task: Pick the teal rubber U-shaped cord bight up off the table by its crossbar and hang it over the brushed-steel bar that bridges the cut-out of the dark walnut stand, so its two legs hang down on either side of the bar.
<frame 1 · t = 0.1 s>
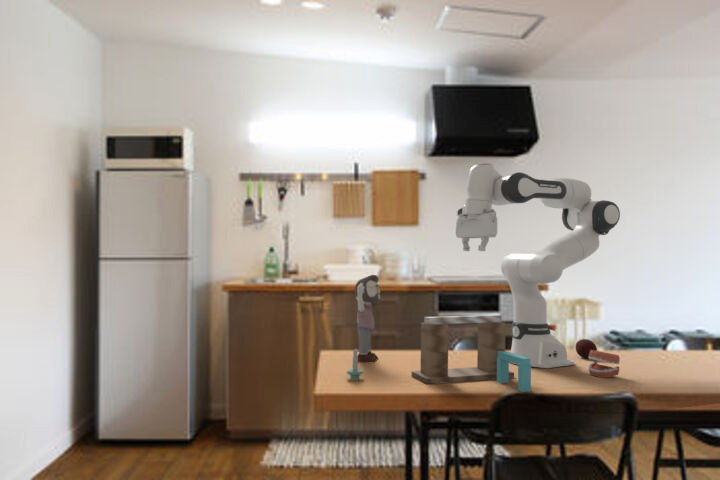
hand: (473, 251, 174), 39 cm above the table, tool pointing down, fingers open, 8 cm apart
bight: (513, 386, 147), on the table
screw: (354, 379, 152), on the table
shelf: (463, 376, 158), on the table
dentures: (600, 376, 163), on the table
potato: (586, 358, 191), on the table
figurine: (364, 361, 179), on the table
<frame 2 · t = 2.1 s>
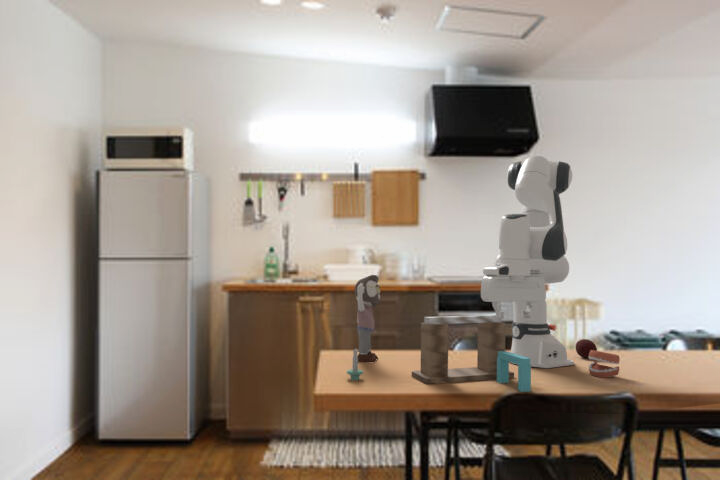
hand: (513, 317, 148), 20 cm above the table, tool pointing down, fingers open, 8 cm apart
nothing on the table moved.
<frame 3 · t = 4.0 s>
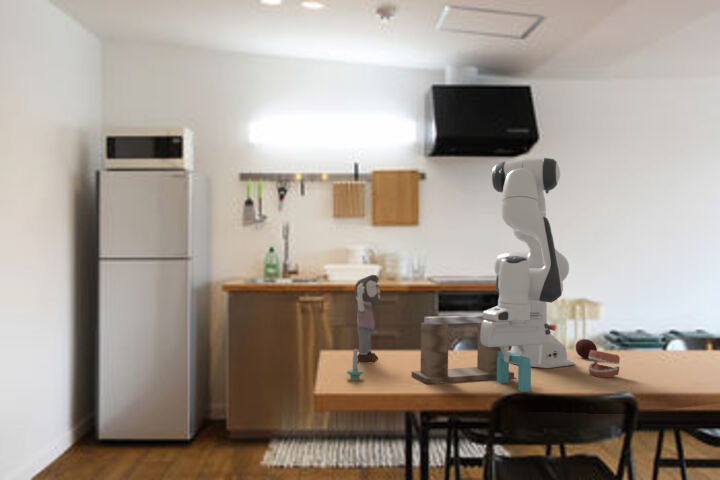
hand: (513, 361, 147), 7 cm above the table, tool pointing down, fingers closed on bight, 2 cm apart
bight: (513, 386, 147), on the table, touching gripper
everything else where it was.
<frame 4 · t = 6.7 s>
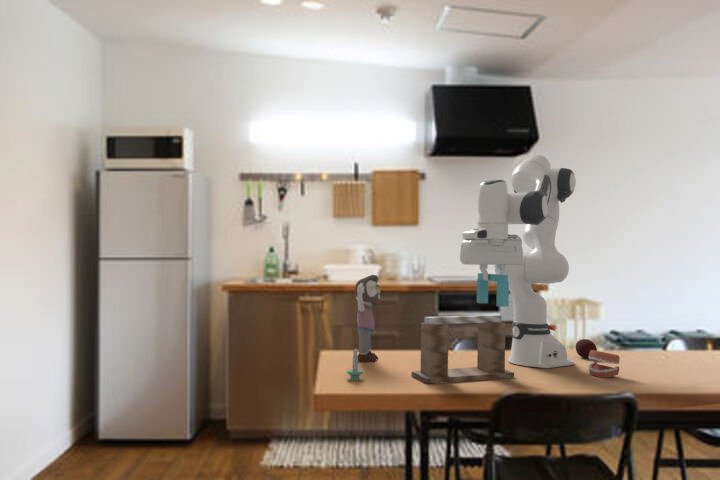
hand: (492, 280, 153), 30 cm above the table, tool pointing down, fingers closed on bight, 2 cm apart
bight: (492, 304, 152), point 23 cm above the table, touching gripper
everything else where it was.
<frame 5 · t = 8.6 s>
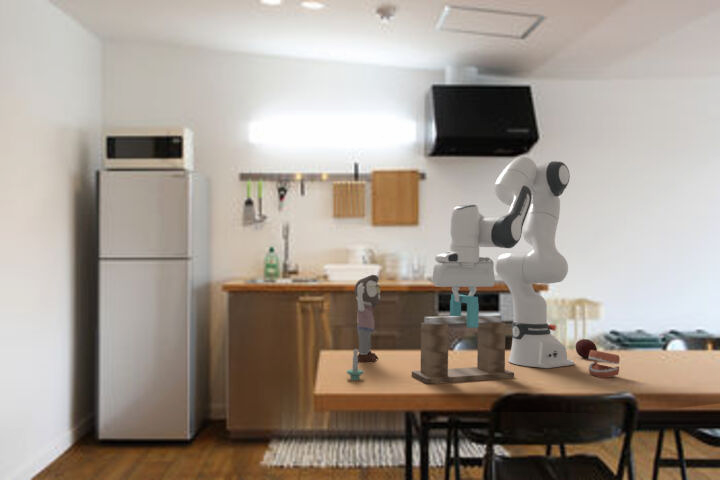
hand: (463, 301, 158), 23 cm above the table, tool pointing down, fingers closed on bight, 2 cm apart
bight: (463, 324, 158), point 16 cm above the table, touching gripper
everything else where it was.
when the fingers open (20 cm above the table, at t = 9.8 s): bight drops 1 cm, resting on shelf.
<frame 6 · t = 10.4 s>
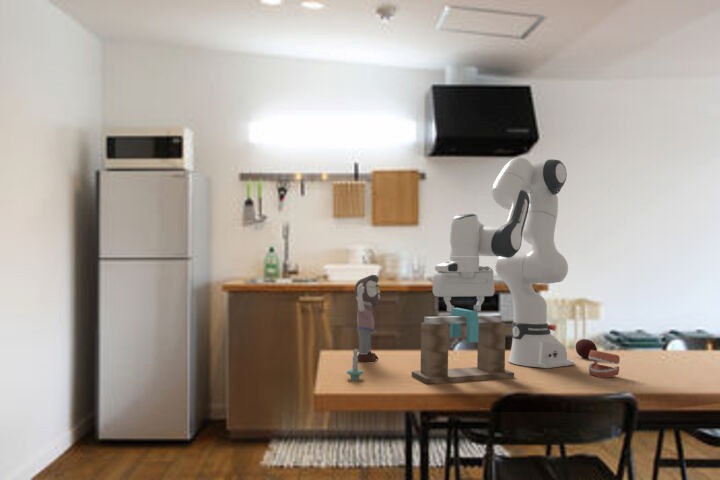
hand: (463, 311, 158), 20 cm above the table, tool pointing down, fingers open, 8 cm apart
bight: (463, 339, 158), point 11 cm above the table, touching shelf
everything else where it was.
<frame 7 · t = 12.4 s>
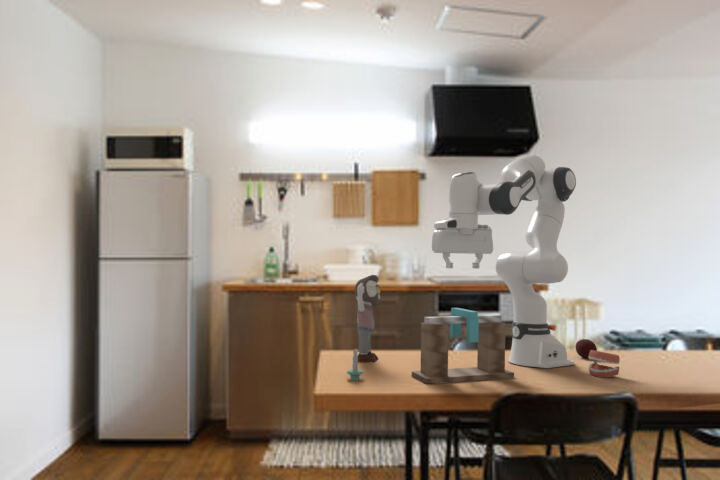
hand: (462, 268, 160), 33 cm above the table, tool pointing down, fingers open, 8 cm apart
nothing on the table moved.
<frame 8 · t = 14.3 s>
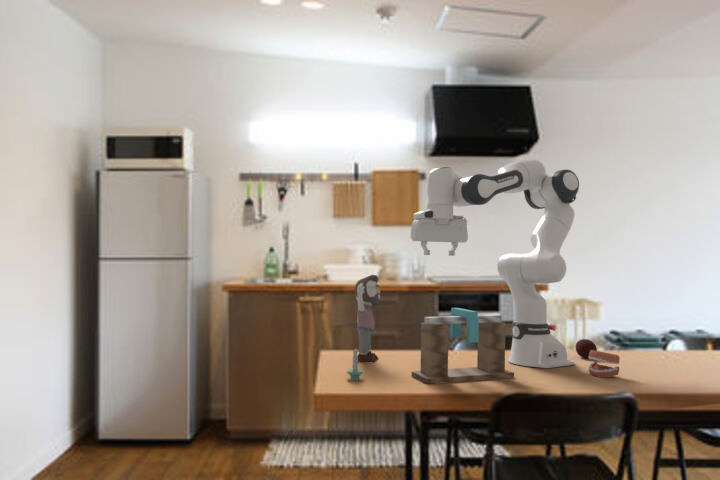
hand: (439, 255, 174), 37 cm above the table, tool pointing down, fingers open, 8 cm apart
nothing on the table moved.
at the end: bight 0.0 cm off-centre on the shelf, point 11.5 cm above the shelf's base; bight touching shelf; the gripper is holding nothing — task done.
